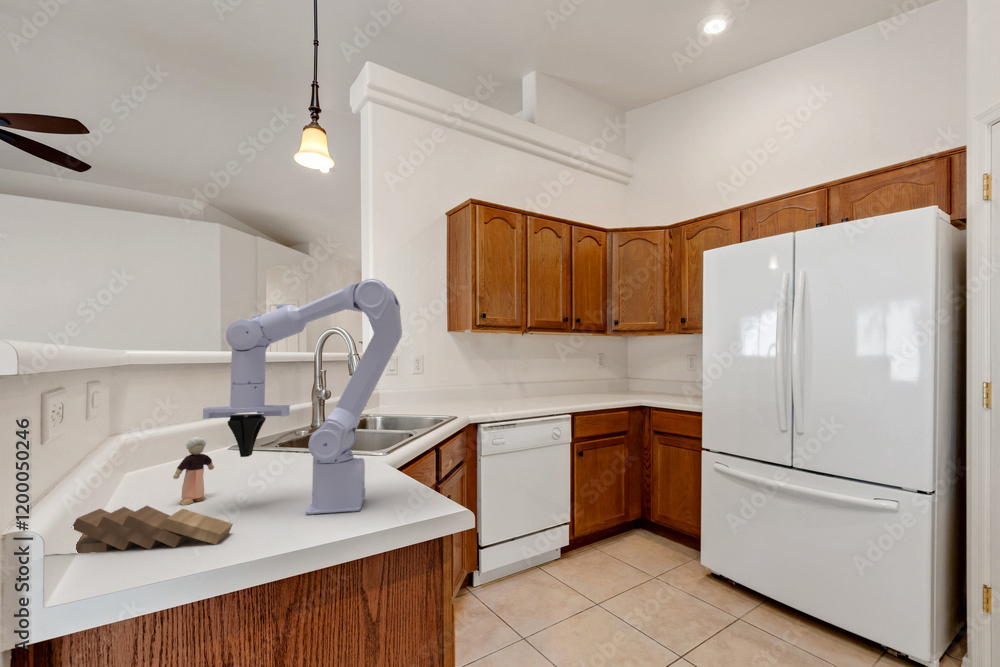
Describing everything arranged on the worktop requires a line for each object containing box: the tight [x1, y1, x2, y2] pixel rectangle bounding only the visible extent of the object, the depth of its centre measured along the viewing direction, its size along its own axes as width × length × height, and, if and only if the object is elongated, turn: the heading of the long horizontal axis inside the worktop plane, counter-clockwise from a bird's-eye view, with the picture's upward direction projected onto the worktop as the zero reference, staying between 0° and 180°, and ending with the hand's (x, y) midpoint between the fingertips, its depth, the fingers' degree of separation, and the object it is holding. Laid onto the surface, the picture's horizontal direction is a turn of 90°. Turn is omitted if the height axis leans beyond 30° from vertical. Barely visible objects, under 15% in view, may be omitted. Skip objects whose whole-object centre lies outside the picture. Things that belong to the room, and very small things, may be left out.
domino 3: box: [97, 506, 161, 550], centre depth 67 cm, size 2×4×8 cm
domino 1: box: [72, 508, 137, 551], centre depth 67 cm, size 2×4×8 cm
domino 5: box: [162, 508, 234, 545], centre depth 69 cm, size 2×4×8 cm
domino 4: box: [122, 505, 189, 549], centre depth 68 cm, size 2×4×8 cm
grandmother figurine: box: [172, 436, 215, 506], centre depth 89 cm, size 8×4×13 cm, turn 169°
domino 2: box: [76, 533, 115, 554], centre depth 66 cm, size 2×4×8 cm
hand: (246, 455), depth 84 cm, fingers closed
